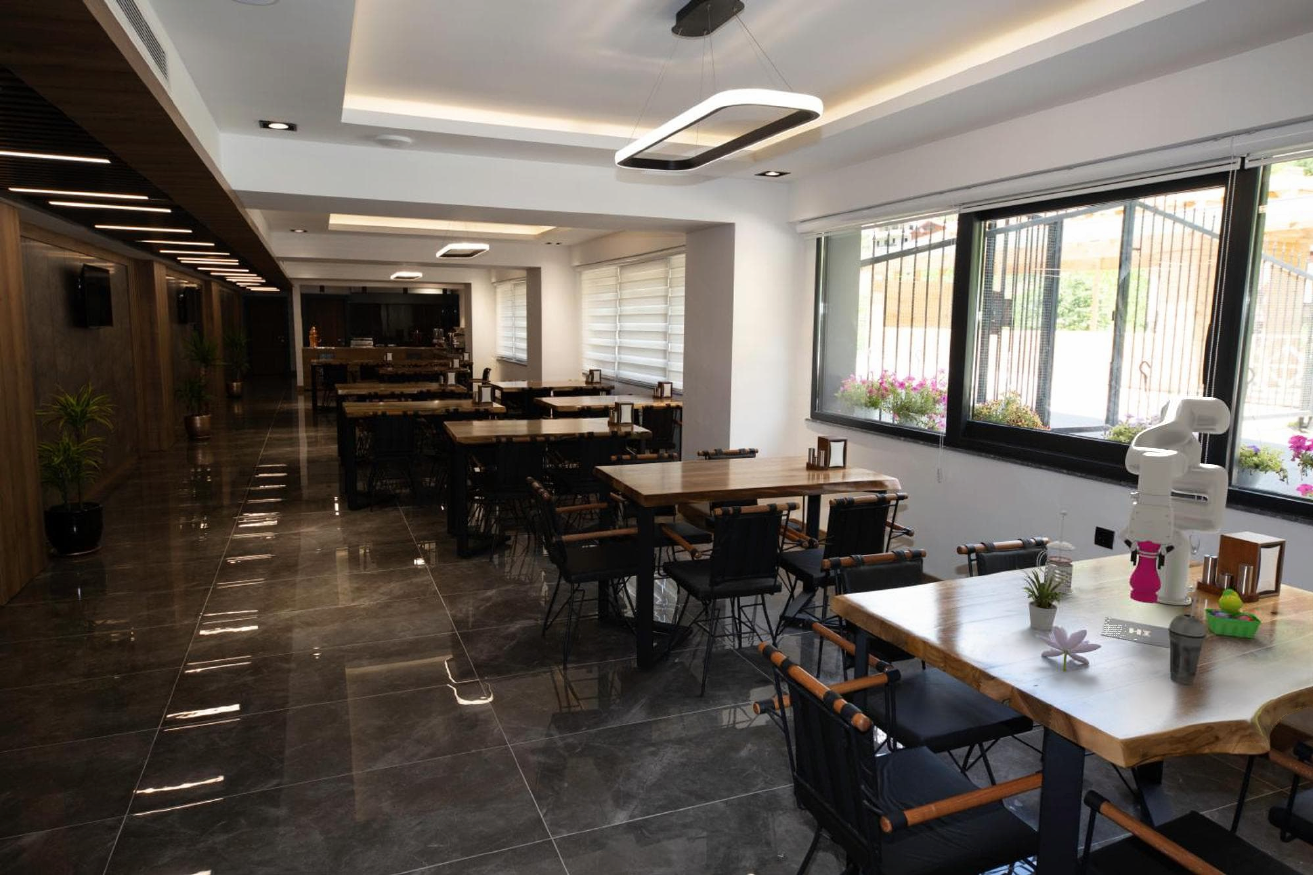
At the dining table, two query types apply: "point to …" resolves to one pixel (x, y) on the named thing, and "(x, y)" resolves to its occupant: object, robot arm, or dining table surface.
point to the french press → (1059, 565)
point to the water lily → (1068, 645)
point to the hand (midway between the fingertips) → (1146, 565)
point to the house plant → (1043, 602)
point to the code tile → (1139, 632)
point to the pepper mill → (1146, 574)
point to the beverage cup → (1185, 646)
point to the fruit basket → (1232, 617)
